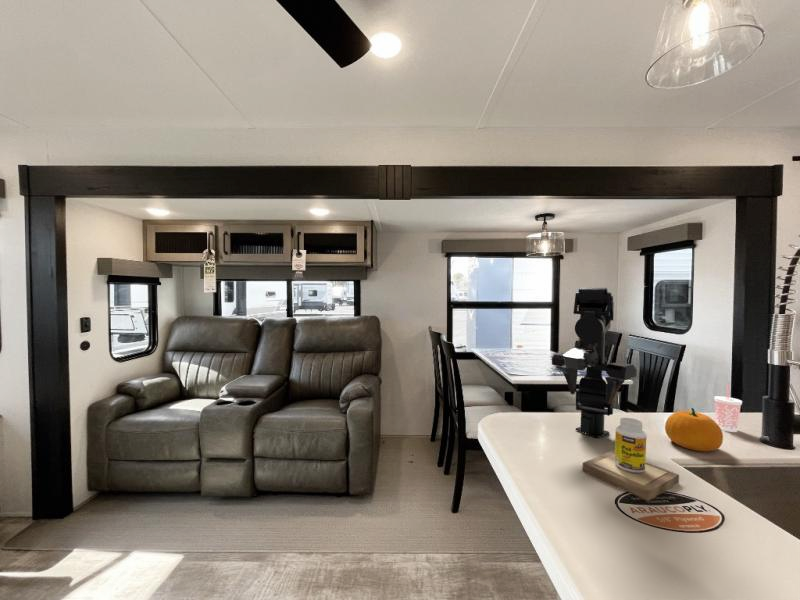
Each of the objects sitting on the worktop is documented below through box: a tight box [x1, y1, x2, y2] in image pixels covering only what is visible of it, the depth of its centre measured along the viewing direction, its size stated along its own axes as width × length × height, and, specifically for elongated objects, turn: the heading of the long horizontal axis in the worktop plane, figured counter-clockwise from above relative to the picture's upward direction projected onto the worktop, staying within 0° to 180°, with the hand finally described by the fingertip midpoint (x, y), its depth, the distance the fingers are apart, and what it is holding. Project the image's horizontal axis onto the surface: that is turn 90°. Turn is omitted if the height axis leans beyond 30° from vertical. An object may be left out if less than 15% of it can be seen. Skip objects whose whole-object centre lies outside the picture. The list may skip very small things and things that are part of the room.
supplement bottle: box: [614, 417, 647, 473], centre depth 75 cm, size 6×6×10 cm
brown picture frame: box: [582, 449, 680, 502], centre depth 75 cm, size 13×13×2 cm
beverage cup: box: [713, 381, 743, 433], centre depth 104 cm, size 6×6×14 cm
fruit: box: [664, 407, 724, 452], centre depth 91 cm, size 12×12×10 cm
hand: (589, 398), depth 88 cm, fingers open, 9 cm apart
